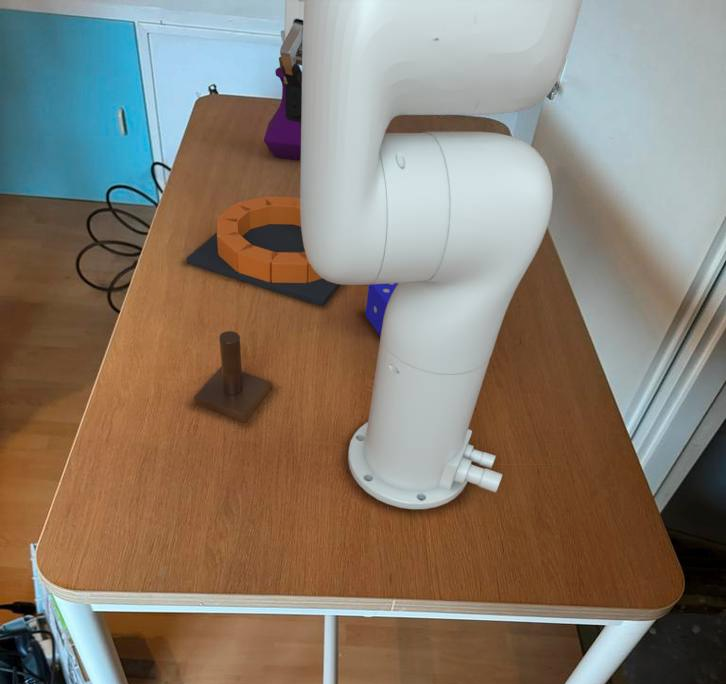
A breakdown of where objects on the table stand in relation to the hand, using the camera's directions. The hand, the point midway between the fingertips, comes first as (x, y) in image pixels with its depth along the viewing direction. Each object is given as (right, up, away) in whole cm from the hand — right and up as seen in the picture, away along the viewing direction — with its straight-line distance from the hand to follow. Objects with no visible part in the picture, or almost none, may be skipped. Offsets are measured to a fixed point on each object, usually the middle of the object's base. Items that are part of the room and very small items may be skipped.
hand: (314, 110), depth 82 cm
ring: (-5, -15, +7) cm, 17 cm away
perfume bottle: (-7, +9, +29) cm, 31 cm away
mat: (-5, -16, +7) cm, 18 cm away
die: (+10, -28, -1) cm, 30 cm away
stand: (-8, -39, -13) cm, 42 cm away
